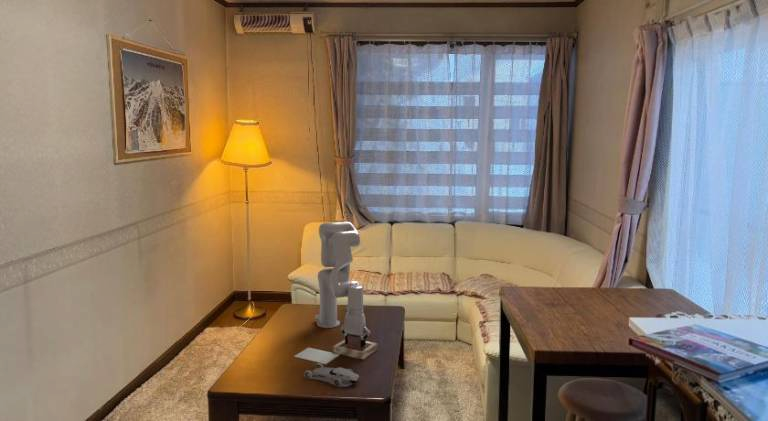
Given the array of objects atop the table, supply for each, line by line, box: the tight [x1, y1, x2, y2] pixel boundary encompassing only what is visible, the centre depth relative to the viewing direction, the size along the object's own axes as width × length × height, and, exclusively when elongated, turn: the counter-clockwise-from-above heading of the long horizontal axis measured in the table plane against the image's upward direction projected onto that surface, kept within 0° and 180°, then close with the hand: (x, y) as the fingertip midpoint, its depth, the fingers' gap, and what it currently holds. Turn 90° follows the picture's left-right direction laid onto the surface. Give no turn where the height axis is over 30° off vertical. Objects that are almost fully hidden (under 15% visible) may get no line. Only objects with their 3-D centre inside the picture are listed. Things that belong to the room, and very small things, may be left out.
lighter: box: [346, 334, 364, 351], centre depth 260 cm, size 8×3×10 cm, turn 71°
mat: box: [293, 347, 341, 365], centre depth 254 cm, size 18×12×1 cm, turn 63°
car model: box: [303, 362, 360, 388], centre depth 230 cm, size 11×24×5 cm, turn 64°
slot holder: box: [332, 339, 379, 360], centre depth 260 cm, size 17×14×3 cm
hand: (355, 345), depth 260 cm, fingers closed on lighter, 8 cm apart
